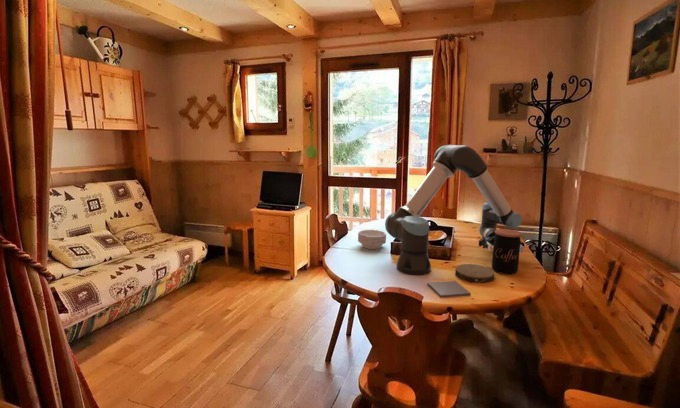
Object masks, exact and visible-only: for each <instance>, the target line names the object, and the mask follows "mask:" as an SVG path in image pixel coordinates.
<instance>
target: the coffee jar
mask: <svg viewBox="0 0 680 408" xmlns="http://www.w3.org/2000/svg"><path fill="white" fill-rule="evenodd" d="M496 229H497V228H496ZM495 234H496V235H495V236H494V246H492V259H491V269H492V270H493V271H494V272H496V273H498V274H502V275H515V274H516V273H517V272H518V271H519V263H520V262H519V260H520V253H521V252H520V242H522V241H521V240H522V239H521V236H522V233H521V232H520V231H518V230H516V229H515V230H514V229H508V228H498V229H497V230H495Z"/></svg>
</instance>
